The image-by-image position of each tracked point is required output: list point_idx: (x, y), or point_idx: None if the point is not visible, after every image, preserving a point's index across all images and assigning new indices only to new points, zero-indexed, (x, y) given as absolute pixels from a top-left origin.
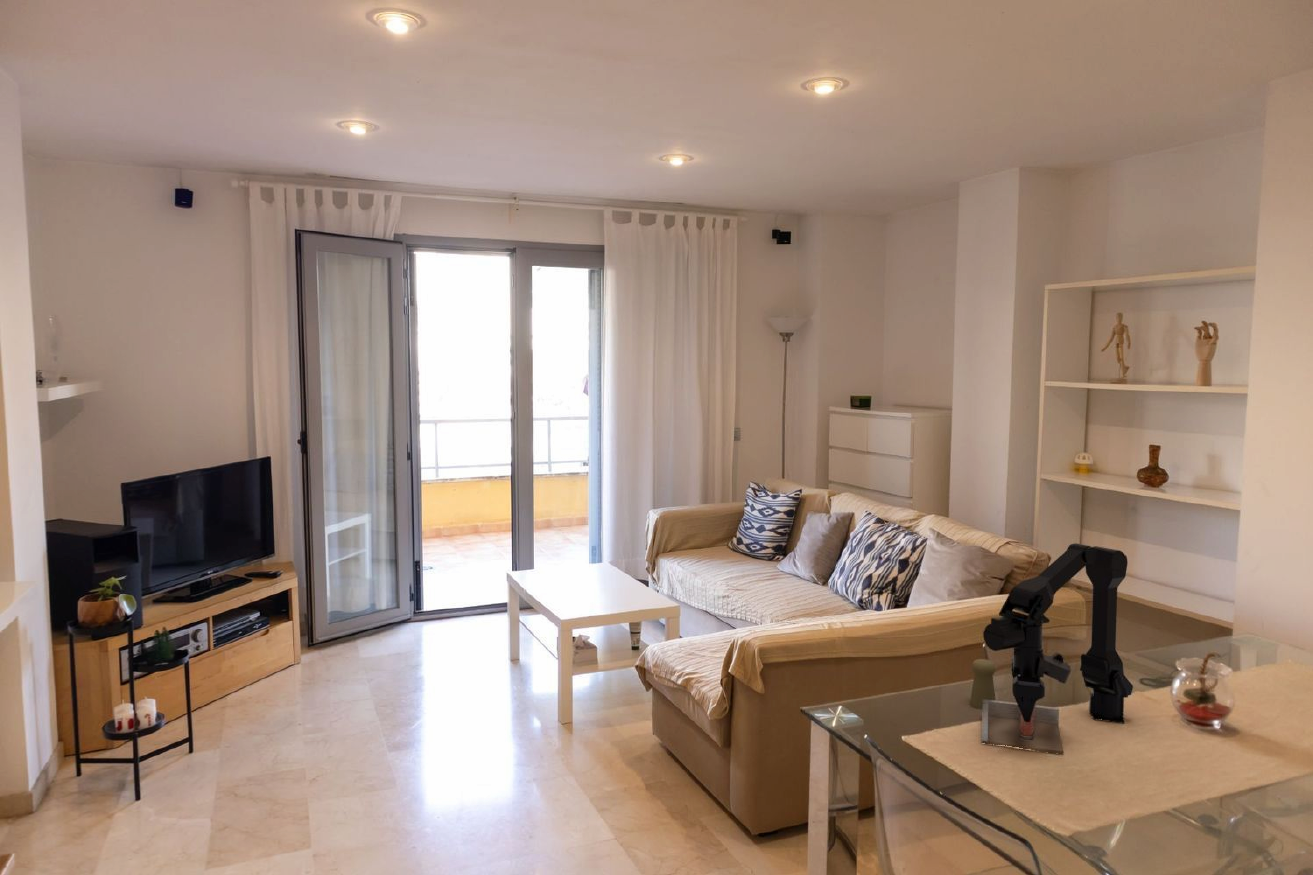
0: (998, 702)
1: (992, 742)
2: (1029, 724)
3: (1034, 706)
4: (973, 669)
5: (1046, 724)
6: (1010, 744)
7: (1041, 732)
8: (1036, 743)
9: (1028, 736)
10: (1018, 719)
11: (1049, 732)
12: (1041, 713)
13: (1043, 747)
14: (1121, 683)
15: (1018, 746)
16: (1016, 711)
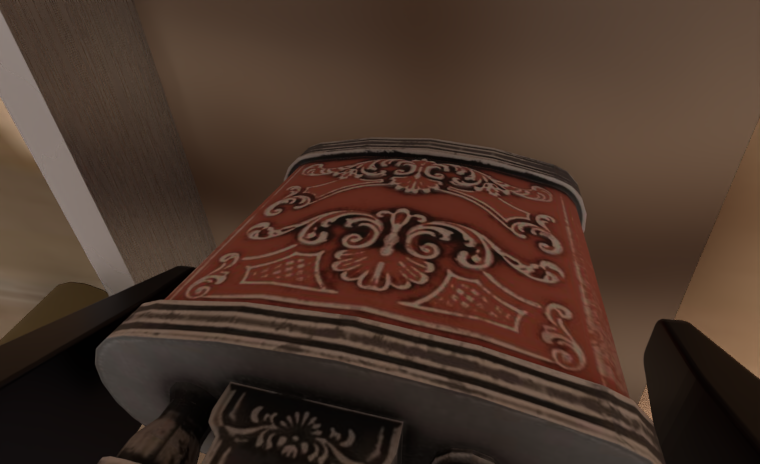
0: None
1: (641, 389)
2: (592, 273)
3: (532, 386)
4: None
5: (167, 37)
6: (675, 312)
7: (354, 84)
8: (629, 137)
9: (578, 212)
10: (206, 222)
11: (325, 13)
12: (99, 98)
13: (733, 79)
14: None
15: (692, 264)
16: (176, 264)
